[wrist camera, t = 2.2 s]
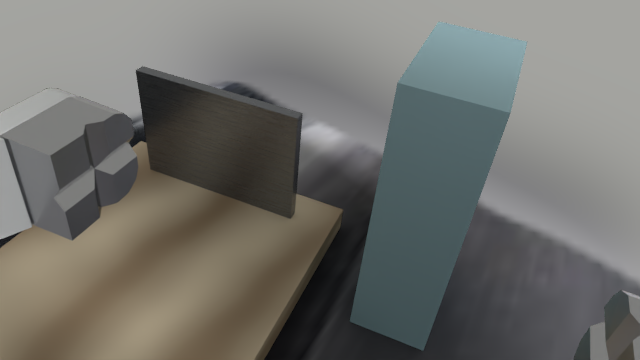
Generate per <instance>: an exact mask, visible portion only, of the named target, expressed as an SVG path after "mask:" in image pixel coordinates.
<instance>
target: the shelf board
mask: <svg viewBox="0 0 640 360" xmlns="http://www.w3.org/2000/svg"><path fill="white" fill-rule="evenodd" d="M132 149H133V150H134V152H135V154H136V155H137V160H138V172H137V178H136V181H135V182H134V184H133V186H132V188H131V189H130V191H129V193H128V194H127V195H126V196H125V197H123V198H122V199H121V200H120V201H119V202H118V203H115V204H111V205H108V206H104V207H102V209H101V215H100V218H99V219H98V220H97V221H95V222H94V223H93V224H92V225H91V226H89V227H88V228H87V229H86V230H85V231H84V232H82V233H81V234H80V235H79V236H78V237H76V238H75V239H74V240H73V241H72V240H69V239H67V238H64V237H62V236H59V235H57V234H54V233H52V232H49V231H47V230H44V229H42V228H39V227H37V226H34V225H32V227H31V228H29V229H26V230H24V231H22V232H21V233H20V234H18V235H17V236H16V237H14V238H13V239H12V240H10V241H9V242H8V243H7V244H5V245H4V246H3V247H1V248H0V360H264V359H265V357H266V356H267V354H268V352H269V350H270V349H271V347H272V345H273V343H274V342H275V340H276V338H277V336H278V335H279V333H280V331H281V329H282V328H283V326H284V324H285V323H286V321H287V319H288V317H289V316H290V314H291V312H292V310H293V309H294V307H295V305H296V303H297V302H298V300H299V298H300V296H301V295H302V293H303V291H304V290H305V288H306V286H307V284H308V283H309V281H310V279H311V277H312V276H313V274H314V272H315V270H316V269H317V267H318V265H319V263H320V262H321V260H322V258H323V257H324V255H325V253H326V251H327V250H328V248H329V246H330V244H331V243H332V241H333V239H334V237H335V236H336V234H337V232H338V230H339V229H340V227H341V220H342V214H343V209H340V208H337V207H334V206H331V205H328V204H325V203H322V202H319V201H316V200H314V199H311V198H308V197H305V196H302V195H299V194H296V204H295V213H294V215H293V216H292V218H291V219H289V218H286V217H284V216H281V215H278V214H275V213H272V212H269V211H267V210H264V209H261V208H258V207H255V206H252V205H250V204H247V203H244V202H241V201H238V200H235V199H233V198H230V197H227V196H224V195H221V194H218V193H216V192H213V191H210V190H207V189H204V188H202V187H199V186H196V185H193V184H190V183H187V182H185V181H182V180H179V179H176V178H173V177H170V176H168V175H165V174H162V173H159V172H156V171H153V170H151V169H150V163H149V157H148V150H147V143H145V142H142V141H141V142H139V143H138V144H137V145H135V146H134V147H133V148H132Z"/></svg>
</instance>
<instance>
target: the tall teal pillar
mask: <svg viewBox="0 0 640 360" xmlns="http://www.w3.org/2000/svg"><path fill="white" fill-rule="evenodd" d="M526 45H527V42H526V41H522V40H517V39H513V38H509V37H504V36H500V35H495V34H491V33H487V32H482V31H478V30H474V29H469V28H465V27H461V26H456V25H452V24H447V23H443V22H438V23H437V25H436V27H435V28H434V29H433V31H432V32H431V34H430V35H429V37H428V38H427V40H426V41H425V43H424V44H423V46H422V47H421V49H420V50H419V52H418V53H417V55H416V56H415V58H414V59H413V61H412V62H411V64H410V65H409V67H408V68H407V70H406V71H405V73H404V74H403V76H402V77H401V79H400V80H399V82H398V84H397V89H396V94H395V99H394V104H393V109H392V114H391V118H390V123H389V129H388V134H387V138H386V143H385V148H384V153H383V158H382V163H381V168H380V173H379V178H378V183H377V188H376V193H375V198H374V203H373V208H372V213H371V218H370V223H369V228H368V233H367V238H366V243H365V248H364V253H363V258H362V263H361V268H360V273H359V278H358V283H357V288H356V293H355V298H354V303H353V308H352V313H351V318H350V322H352V323H354V324H357V325H359V326H362V327H364V328H367V329H369V330H372V331H374V332H377V333H379V334H382V335H384V336H387V337H389V338H392V339H395V340H397V341H400V342H402V343H405V344H407V345H410V346H412V347H415V348H417V349H420V350H422V351H424V348H425V345H426V342H427V340H428V337H429V334H430V331H431V329H432V326H433V323H434V320H435V318H436V315H437V312H438V310H439V307H440V304H441V301H442V299H443V296H444V293H445V290H446V288H447V285H448V282H449V279H450V277H451V274H452V271H453V269H454V266H455V263H456V260H457V258H458V255H459V252H460V249H461V247H462V244H463V241H464V238H465V236H466V233H467V230H468V228H469V225H470V222H471V219H472V217H473V214H474V211H475V208H476V206H477V203H478V200H479V197H480V195H481V192H482V189H483V187H484V184H485V181H486V178H487V176H488V173H489V170H490V167H491V165H492V162H493V159H494V156H495V154H496V151H497V148H498V145H499V143H500V140H501V137H502V135H503V132H504V129H505V126H506V124H507V121H508V118H509V115H510V112H511V108H512V104H513V100H514V96H515V92H516V87H517V83H518V79H519V75H520V70H521V66H522V62H523V58H524V54H525V49H526Z"/></svg>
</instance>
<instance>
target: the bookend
mask: <svg viewBox="0 0 640 360" xmlns="http://www.w3.org/2000/svg"><path fill="white" fill-rule="evenodd" d="M136 75H137V82H138V89H139V95H140V102H141V109H142V116H143V123H144V129H145V136H146V143H147V150H148V157H149V163H150V169H151V170H153V171H156V172H159V173H162V174H165V175H168V176H170V177H173V178H176V179H179V180H182V181H185V182H187V183H190V184H193V185H196V186H199V187H202V188H204V189H207V190H210V191H213V192H216V193H218V194H221V195H224V196H227V197H230V198H233V199H235V200H238V201H241V202H244V203H247V204H250V205H252V206H255V207H258V208H261V209H264V210H267V211H269V212H272V213H275V214H278V215H281V216H284V217H286V218H289V219H291V218H292V216H293V215H294V213H295V204H296V191H297V178H298V165H299V152H300V139H301V125H302V113H300V112H296V111H293V110H290V109H286V108H283V107H279V106H276V105H273V104H269V103H266V102H262V101H259V100H256V99H252V98H249V97H245V96H242V95H239V94H235V93H232V92H228V91H225V90H222V89H218V88H215V87H211V86H208V85H205V84H201V83H198V82H194V81H191V80H188V79H184V78H181V77H177V76H174V75H171V74H167V73H163V72H160V71H157V70H154V69H150V68H147V67H141V68H139V69H137V70H136Z"/></svg>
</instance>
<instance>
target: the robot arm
mask: <svg viewBox="0 0 640 360" xmlns="http://www.w3.org/2000/svg"><path fill="white" fill-rule="evenodd" d="M133 137H134V131H133V125H132V120H131V119H130V118H129V117H128V116H127V115H125V114H124V113H122V112H119V111H116V110H114V109H111V108H109V107H106V106H104V105H101V104H98V103H96V102H93V101H90V100H88V99H85V98H83V97H78V96H76V95H74V94H71V93H68V92H65V91H63V90H60V89H58V88H57V89H55V88H46V89H44V90H43V91H41V92H39V93H37V94H35V95H33V96H31V97H29V98H27V99H25V100H23V101H21V102H19V103H17V104H15V105H13V106H12V107H10V108H8V109H6V110H4V111H2V112H0V239H2V238H5V237H8V236H10V235H13V234H16V233H18V232H21V231H23V230H26V229H29V228H31V227H32V225H34V226H37V227H39V228H42V229H44V230H47V231H49V232H52V233H54V234H57V235H59V236H62V237H64V238H67V239H69V240H72V241H73V240H74V239H75V238H76V237H78V236H79V235H80V234H81V233H82V232H84V231H85V230H86V229H87V228H88V227H89V226H91V225H92V224H93V223H94V222H95V221H97V220H98V219H99V218H100V215H101V209H102V207H104V206H108V205H111V204H115V203H118V202H119V201H120V200H121V199H122V198H123V197H125V196H126V195H127V194H128V193H129V191H130V189H131V188H132V186H133V184H134V182H135V181H136V178H137V172H138V160H137V155H136V154H135V152H134V150H133V149H132V147H131V146H130V144H129V142H130V140H131V139H132V138H133ZM604 309H605V322H603V323H599V324H596V325H592V326H590V327H589V329H588V330H587V332H586V333H585V335H584V336H583V338H582V339H581V341H580V343H579V346H578V349H577V351H576V354H575V356H574V360H640V296H637V295H634V294H631V293H628V292H626V291H623V290H620V291H619V292H618V293H616V294H615V295H613V296H612V298H611V299H610V300H609V302H608V303H607V304H606V306H605V307H604Z"/></svg>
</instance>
